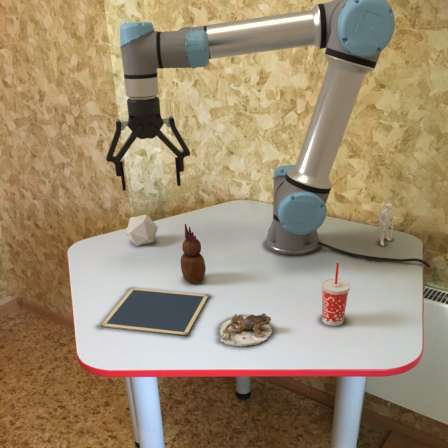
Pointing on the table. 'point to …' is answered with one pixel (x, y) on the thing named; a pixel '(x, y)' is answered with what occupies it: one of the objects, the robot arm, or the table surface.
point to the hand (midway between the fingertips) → (151, 186)
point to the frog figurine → (245, 330)
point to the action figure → (385, 223)
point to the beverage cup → (334, 299)
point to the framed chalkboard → (156, 311)
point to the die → (141, 230)
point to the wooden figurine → (192, 259)
